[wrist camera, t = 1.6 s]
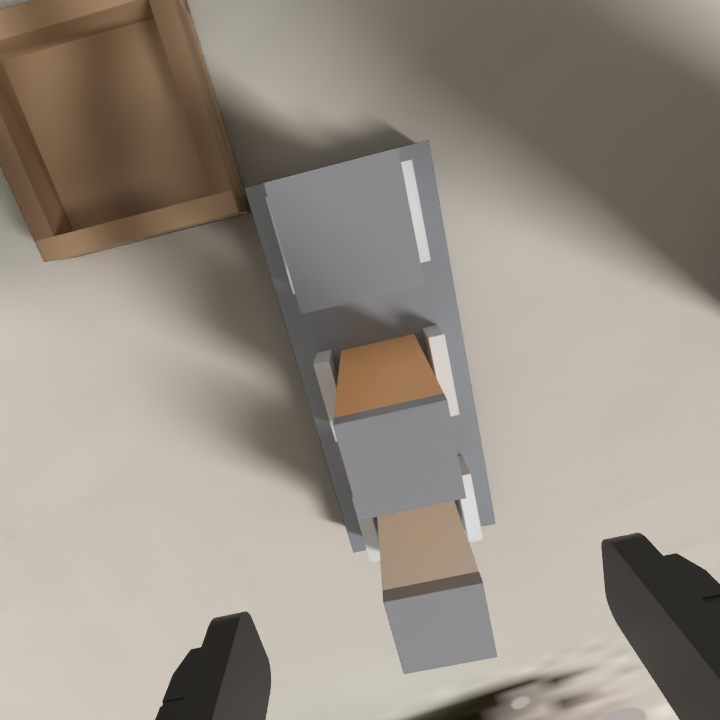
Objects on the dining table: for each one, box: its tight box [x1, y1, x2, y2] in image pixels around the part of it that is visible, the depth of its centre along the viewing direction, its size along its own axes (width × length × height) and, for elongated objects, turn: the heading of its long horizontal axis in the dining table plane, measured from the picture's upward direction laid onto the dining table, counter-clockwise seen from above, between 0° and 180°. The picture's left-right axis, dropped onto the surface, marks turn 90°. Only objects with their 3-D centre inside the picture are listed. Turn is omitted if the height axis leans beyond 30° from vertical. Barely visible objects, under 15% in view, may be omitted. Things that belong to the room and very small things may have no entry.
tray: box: [0, 0, 250, 262], centre depth 21 cm, size 10×10×2 cm
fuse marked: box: [333, 334, 466, 520], centre depth 20 cm, size 4×4×9 cm
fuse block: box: [245, 140, 497, 674], centre depth 21 cm, size 9×22×11 cm, turn 13°
